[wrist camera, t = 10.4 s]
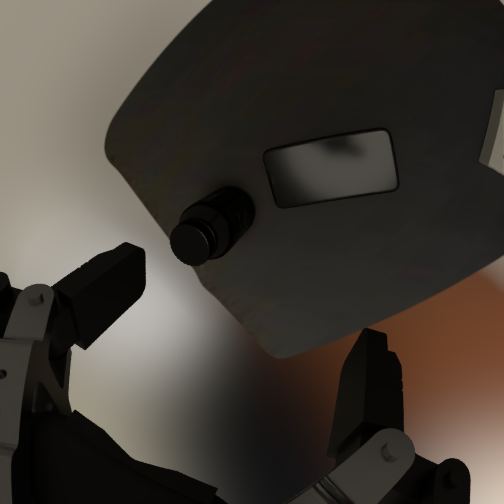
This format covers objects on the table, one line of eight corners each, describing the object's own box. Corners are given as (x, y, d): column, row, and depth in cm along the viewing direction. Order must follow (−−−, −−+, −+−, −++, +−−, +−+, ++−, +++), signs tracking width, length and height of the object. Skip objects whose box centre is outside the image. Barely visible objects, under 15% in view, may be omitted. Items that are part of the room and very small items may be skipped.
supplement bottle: (205, 223, 42) (158, 260, 32) (214, 179, 39) (164, 205, 29) (248, 240, 41) (212, 284, 31) (261, 195, 38) (225, 228, 28)
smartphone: (388, 126, 29) (261, 150, 36) (389, 126, 29) (259, 151, 35) (400, 189, 32) (277, 208, 38) (401, 191, 31) (276, 211, 38)
